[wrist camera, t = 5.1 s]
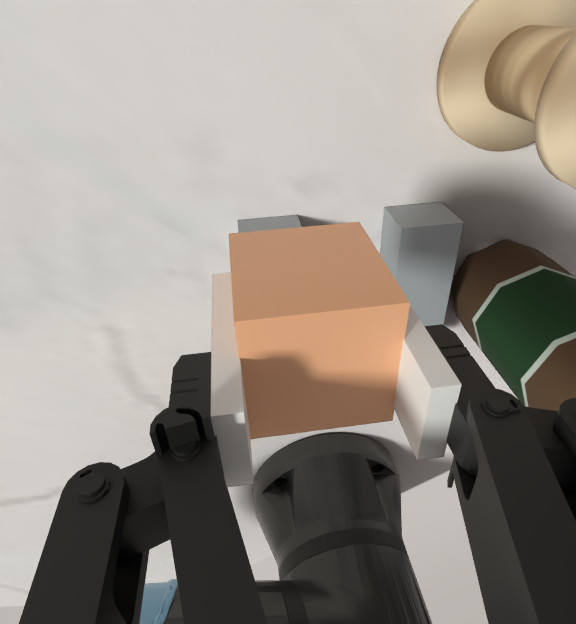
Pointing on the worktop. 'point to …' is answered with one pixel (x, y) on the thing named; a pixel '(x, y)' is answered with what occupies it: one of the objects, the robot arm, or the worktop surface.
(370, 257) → the block
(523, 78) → the bobbin
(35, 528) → the worktop surface
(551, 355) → the beer bottle
